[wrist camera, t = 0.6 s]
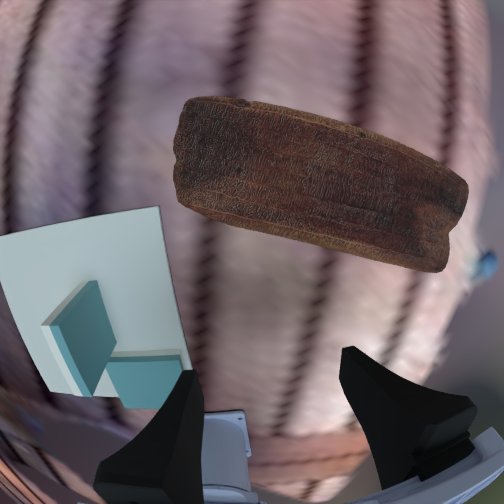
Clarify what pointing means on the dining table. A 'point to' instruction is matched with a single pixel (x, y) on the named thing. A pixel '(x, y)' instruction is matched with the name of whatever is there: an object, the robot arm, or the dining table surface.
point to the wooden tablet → (315, 182)
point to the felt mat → (89, 269)
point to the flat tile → (145, 376)
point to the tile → (81, 337)
